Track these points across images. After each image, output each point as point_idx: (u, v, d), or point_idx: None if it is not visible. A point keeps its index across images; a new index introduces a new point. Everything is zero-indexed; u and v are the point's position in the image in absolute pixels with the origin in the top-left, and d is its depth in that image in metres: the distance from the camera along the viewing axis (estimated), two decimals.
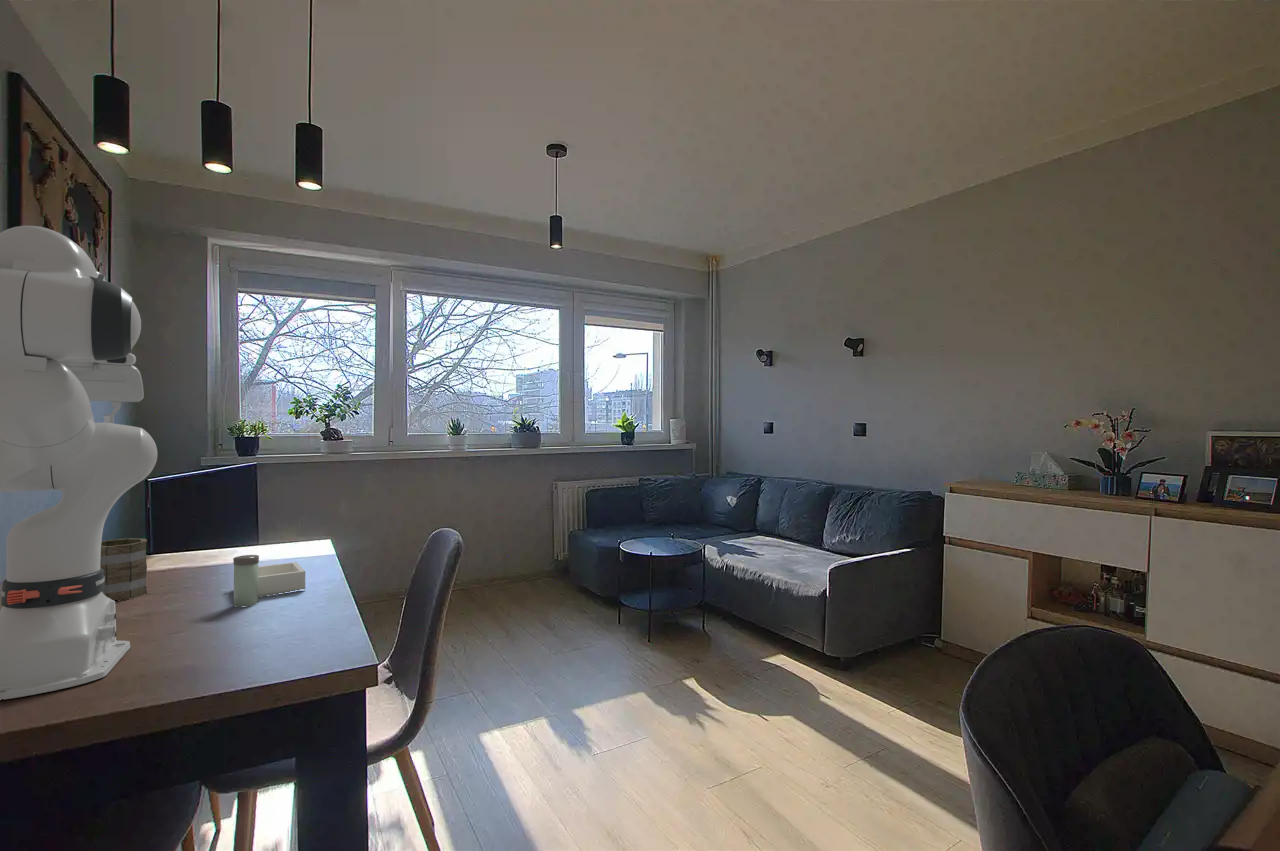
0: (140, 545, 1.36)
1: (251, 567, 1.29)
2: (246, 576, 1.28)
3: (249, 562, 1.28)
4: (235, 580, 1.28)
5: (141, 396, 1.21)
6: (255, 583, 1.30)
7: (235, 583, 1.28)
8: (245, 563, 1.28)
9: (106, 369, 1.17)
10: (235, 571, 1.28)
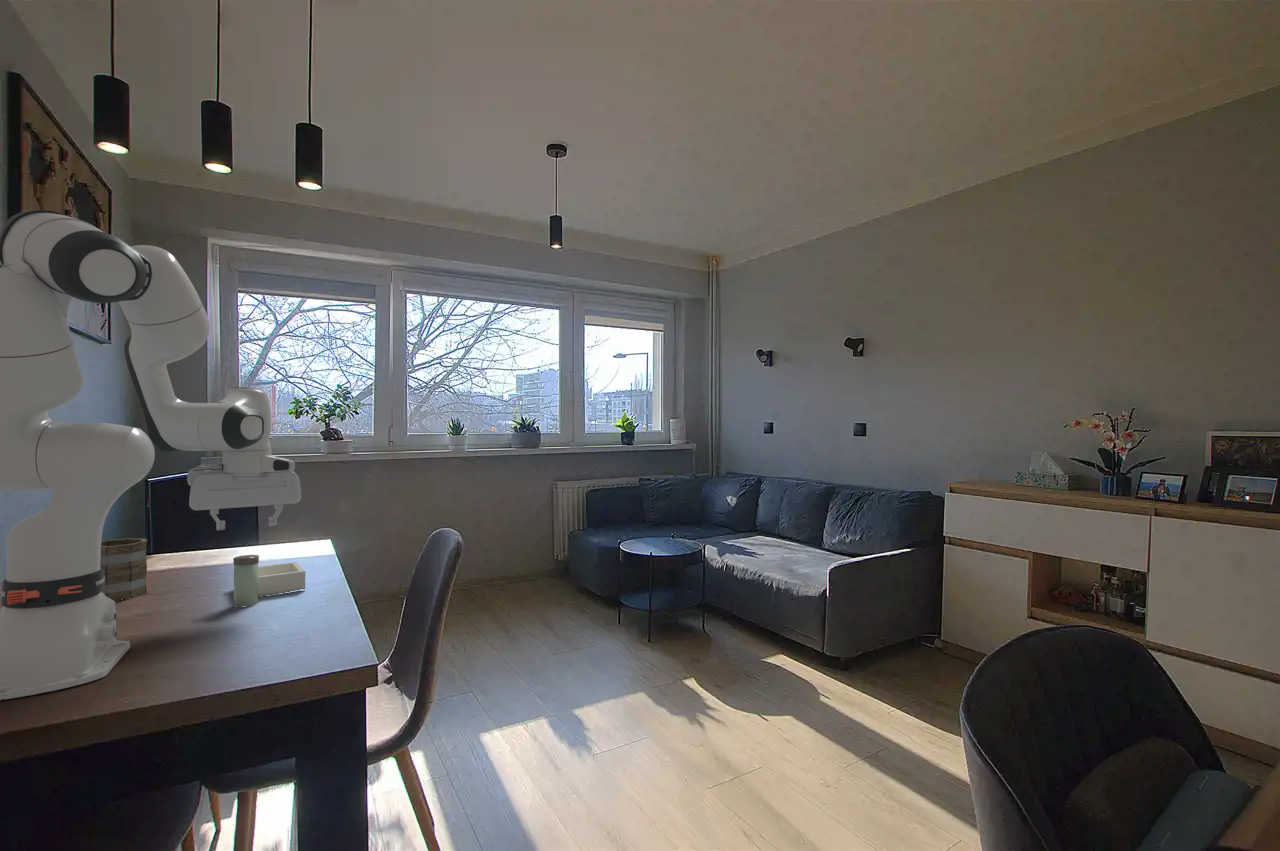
0: (140, 545, 1.36)
1: (251, 567, 1.29)
2: (245, 576, 1.28)
3: (249, 562, 1.28)
4: (235, 580, 1.28)
5: (300, 498, 1.35)
6: (255, 583, 1.30)
7: (235, 583, 1.28)
8: (245, 563, 1.28)
9: (272, 477, 1.31)
10: (235, 571, 1.28)
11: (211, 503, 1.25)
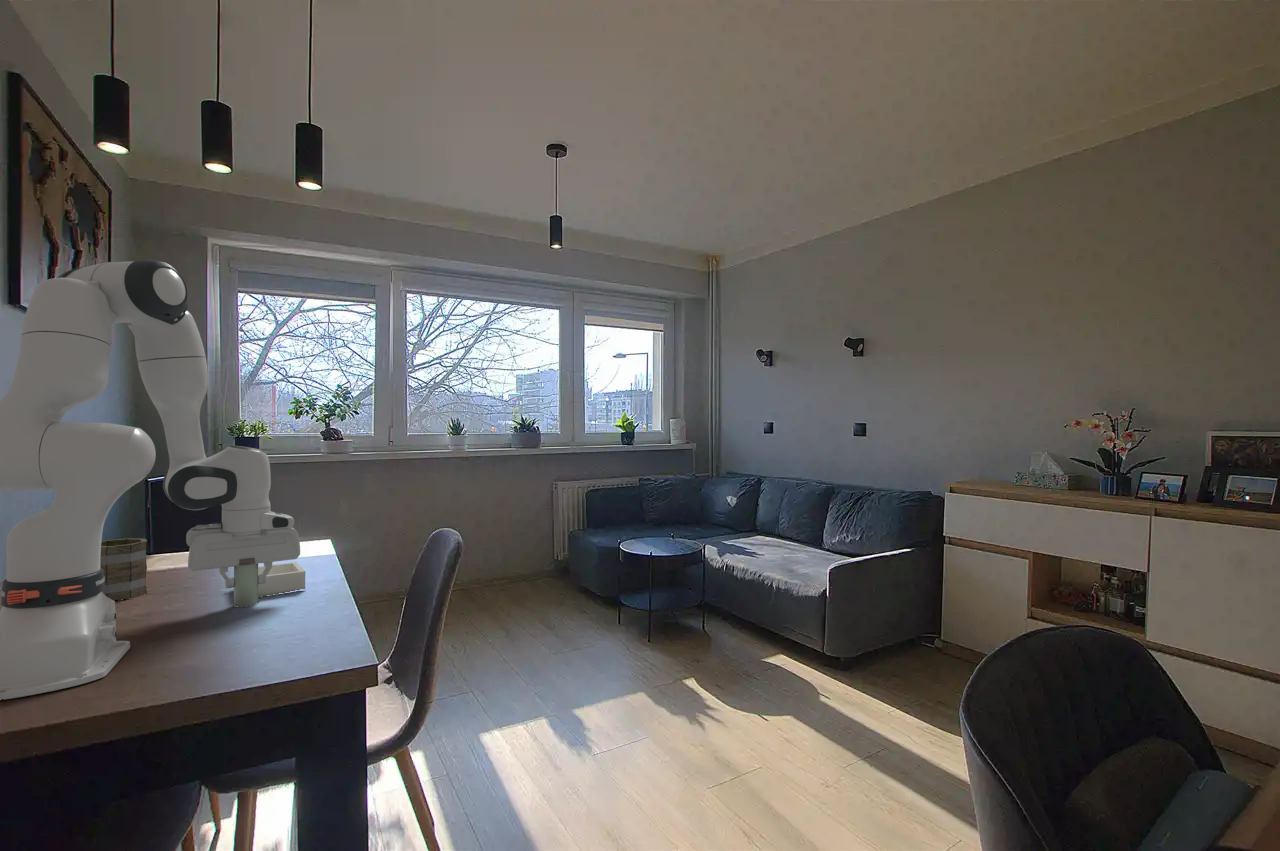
0: (140, 545, 1.36)
1: (251, 567, 1.29)
2: (245, 576, 1.28)
3: (249, 562, 1.28)
4: (235, 580, 1.28)
5: (299, 553, 1.35)
6: (255, 583, 1.30)
7: (235, 583, 1.28)
8: (245, 563, 1.28)
9: (272, 534, 1.31)
10: (235, 571, 1.28)
11: (210, 563, 1.25)
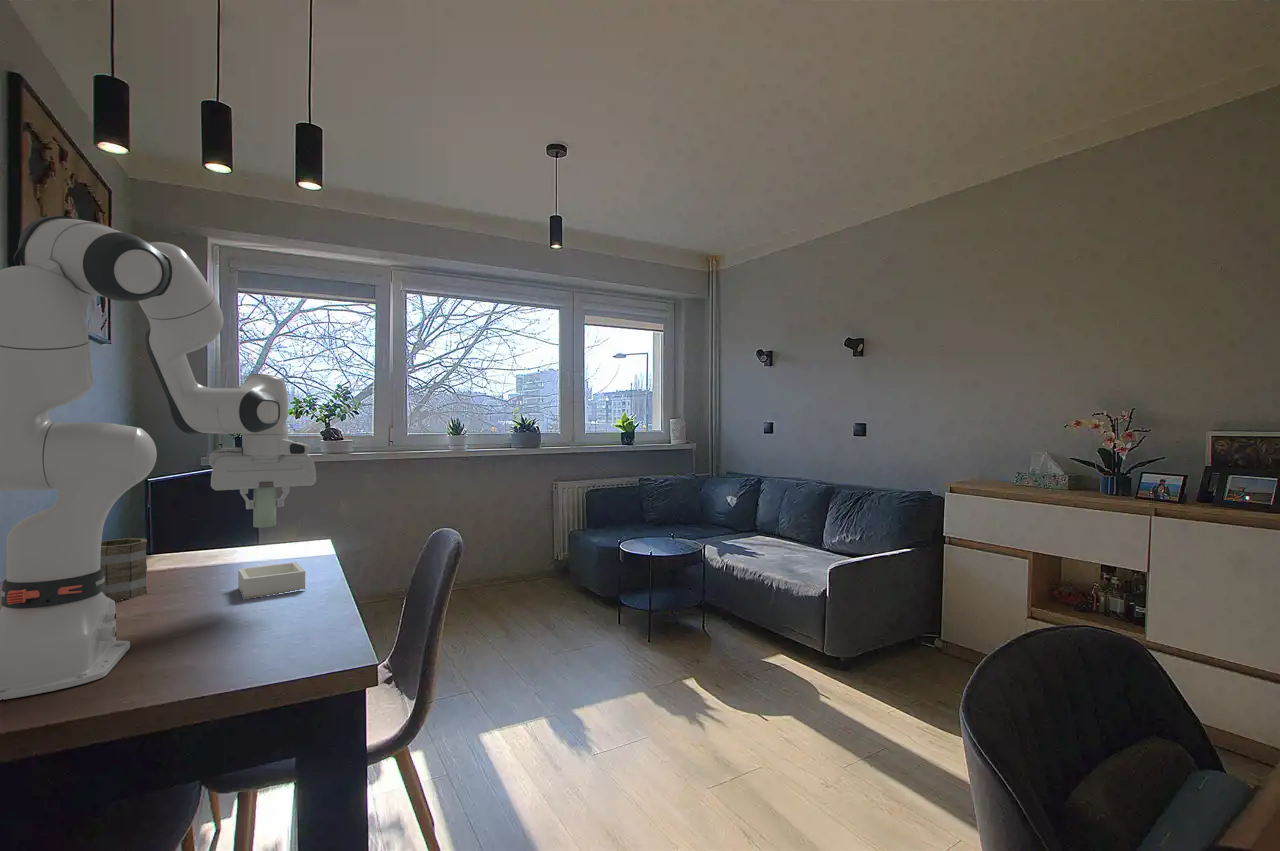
0: (140, 545, 1.36)
1: (270, 490, 1.36)
2: (264, 498, 1.35)
3: (268, 485, 1.35)
4: (254, 501, 1.35)
5: (314, 480, 1.41)
6: (273, 506, 1.37)
7: (255, 504, 1.35)
8: (264, 486, 1.35)
9: (289, 460, 1.37)
10: (255, 493, 1.35)
11: (231, 484, 1.31)
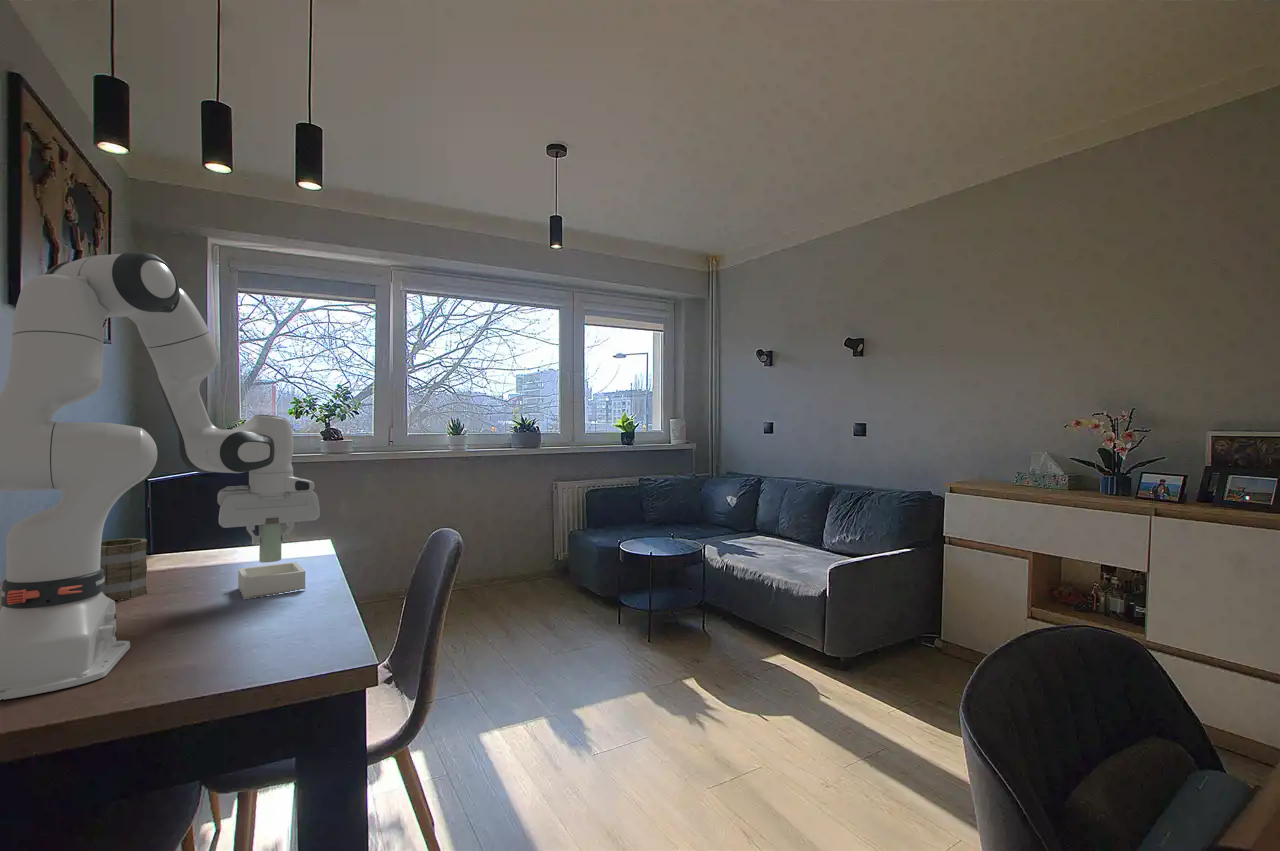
0: (140, 545, 1.36)
1: (276, 526, 1.41)
2: (271, 534, 1.40)
3: (274, 521, 1.40)
4: (261, 537, 1.40)
5: (318, 515, 1.47)
6: (279, 541, 1.42)
7: (261, 540, 1.40)
8: (270, 522, 1.40)
9: (294, 496, 1.43)
10: (261, 529, 1.40)
11: (239, 521, 1.36)
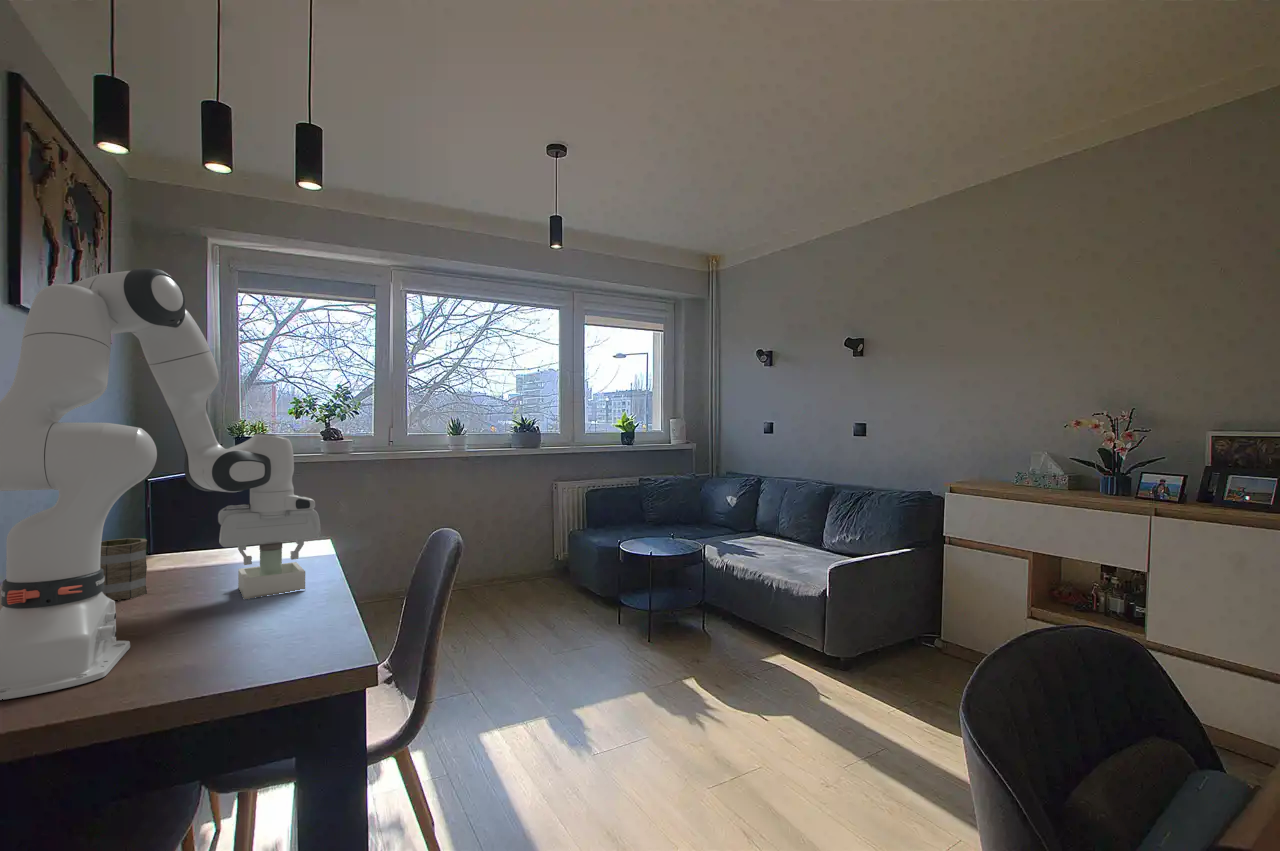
0: (140, 545, 1.36)
1: (276, 552, 1.40)
2: (271, 561, 1.40)
3: (274, 548, 1.40)
4: (261, 564, 1.40)
5: (319, 533, 1.46)
6: (279, 567, 1.41)
7: (261, 567, 1.40)
8: (270, 549, 1.40)
9: (295, 514, 1.42)
10: (261, 556, 1.40)
11: (239, 540, 1.36)
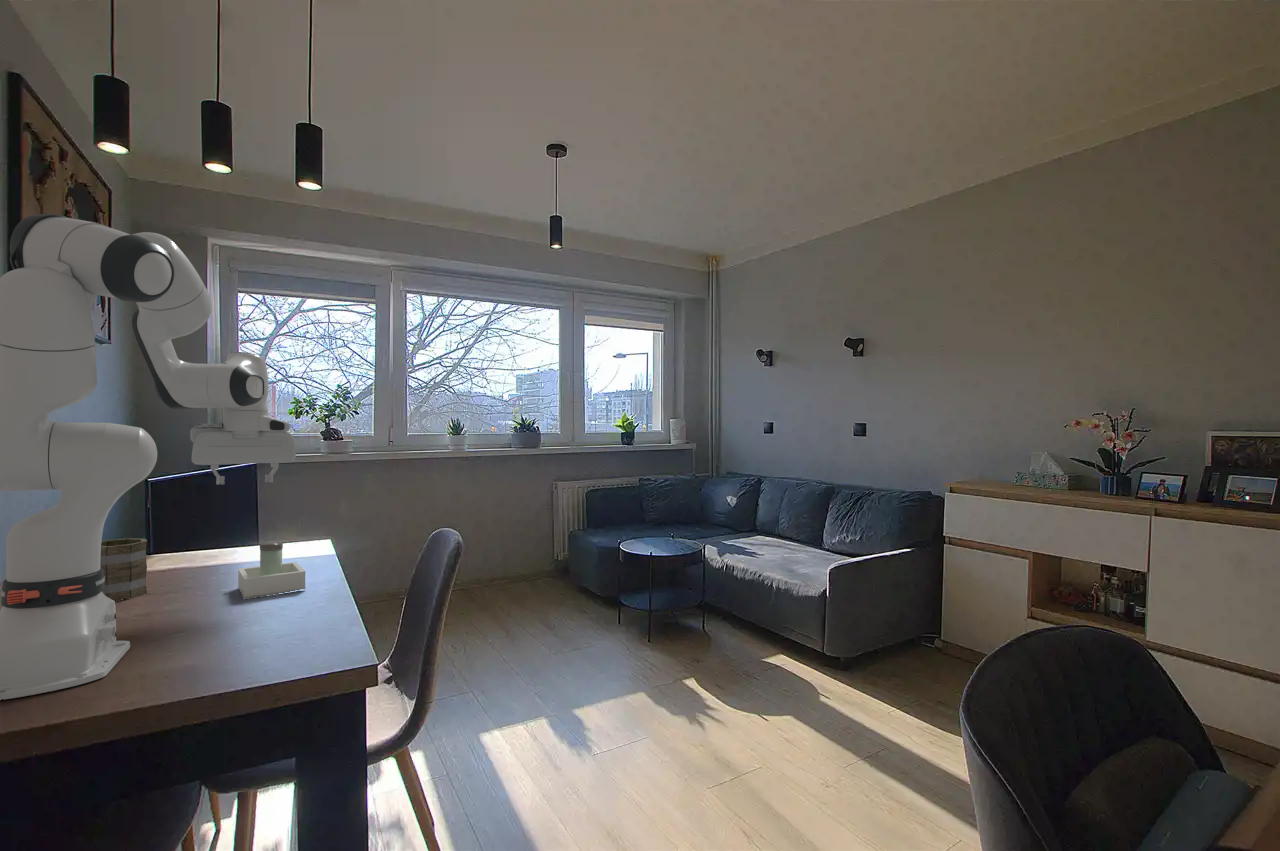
0: (140, 545, 1.36)
1: (276, 552, 1.40)
2: (271, 561, 1.40)
3: (274, 548, 1.40)
4: (261, 564, 1.40)
5: (294, 457, 1.45)
6: (279, 567, 1.41)
7: (261, 567, 1.40)
8: (271, 549, 1.40)
9: (269, 436, 1.41)
10: (261, 556, 1.40)
11: (211, 458, 1.35)
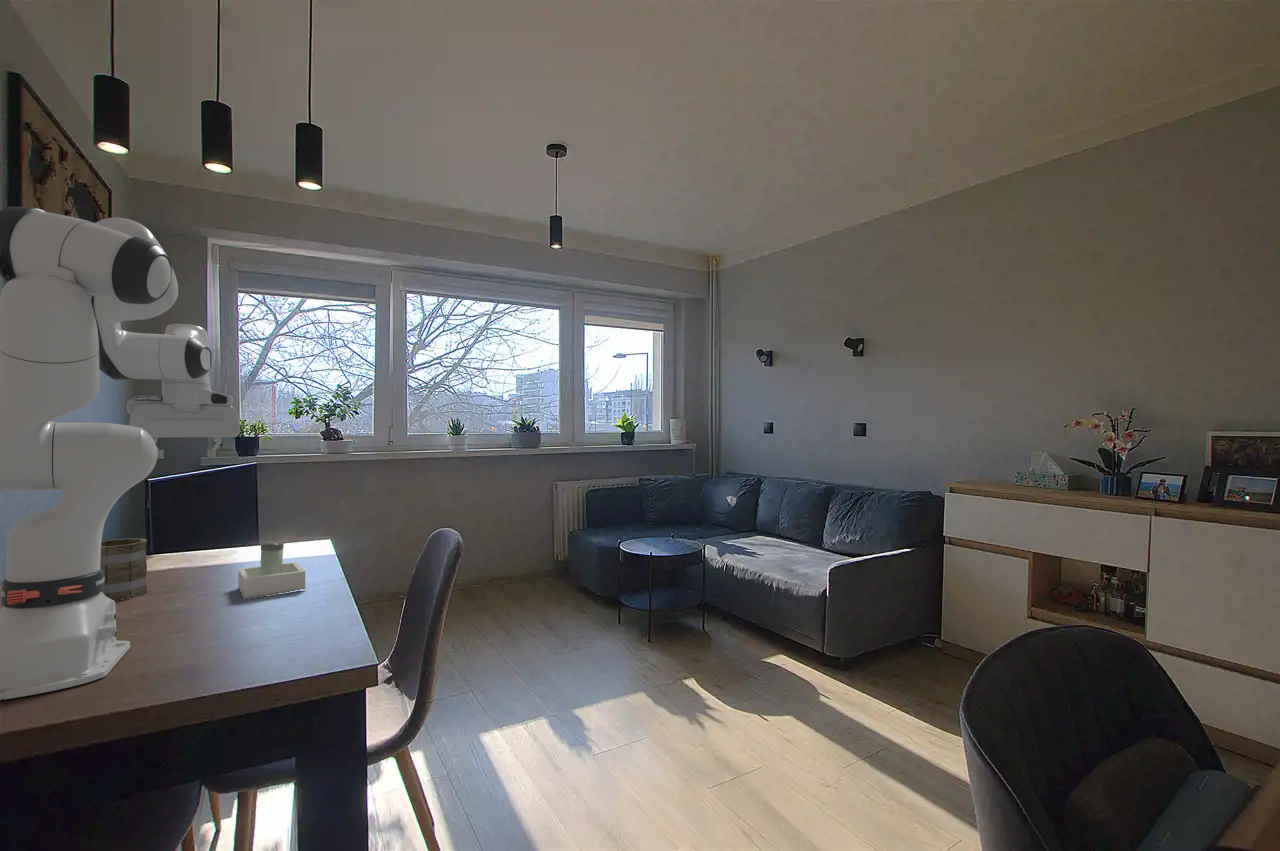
0: (140, 545, 1.36)
1: (277, 552, 1.40)
2: (272, 560, 1.40)
3: (275, 548, 1.40)
4: (262, 564, 1.40)
5: (238, 432, 1.42)
6: (280, 567, 1.41)
7: (262, 567, 1.40)
8: (272, 549, 1.40)
9: (211, 409, 1.38)
10: (262, 556, 1.40)
11: (149, 431, 1.32)
